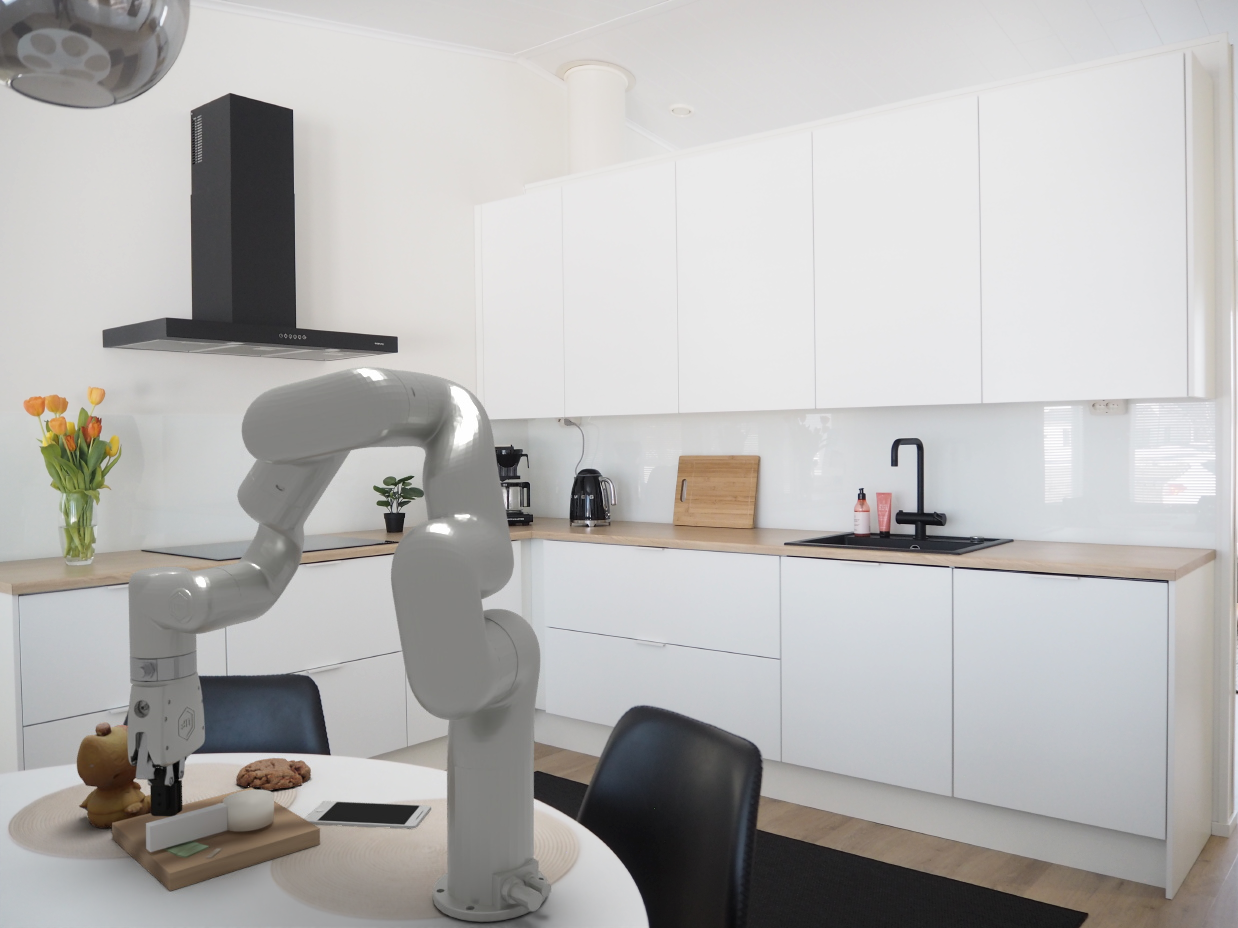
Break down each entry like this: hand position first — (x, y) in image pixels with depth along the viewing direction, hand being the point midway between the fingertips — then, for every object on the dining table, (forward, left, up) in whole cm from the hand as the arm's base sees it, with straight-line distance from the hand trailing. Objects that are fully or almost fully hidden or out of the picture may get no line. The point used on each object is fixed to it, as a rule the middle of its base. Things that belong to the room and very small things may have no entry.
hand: (166, 813), depth 120 cm
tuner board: (-3, -5, -4) cm, 7 cm away
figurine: (+13, +2, -4) cm, 14 cm away
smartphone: (-9, -23, -5) cm, 25 cm away
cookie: (+13, -20, -5) cm, 24 cm away
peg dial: (-6, -3, -2) cm, 7 cm away
